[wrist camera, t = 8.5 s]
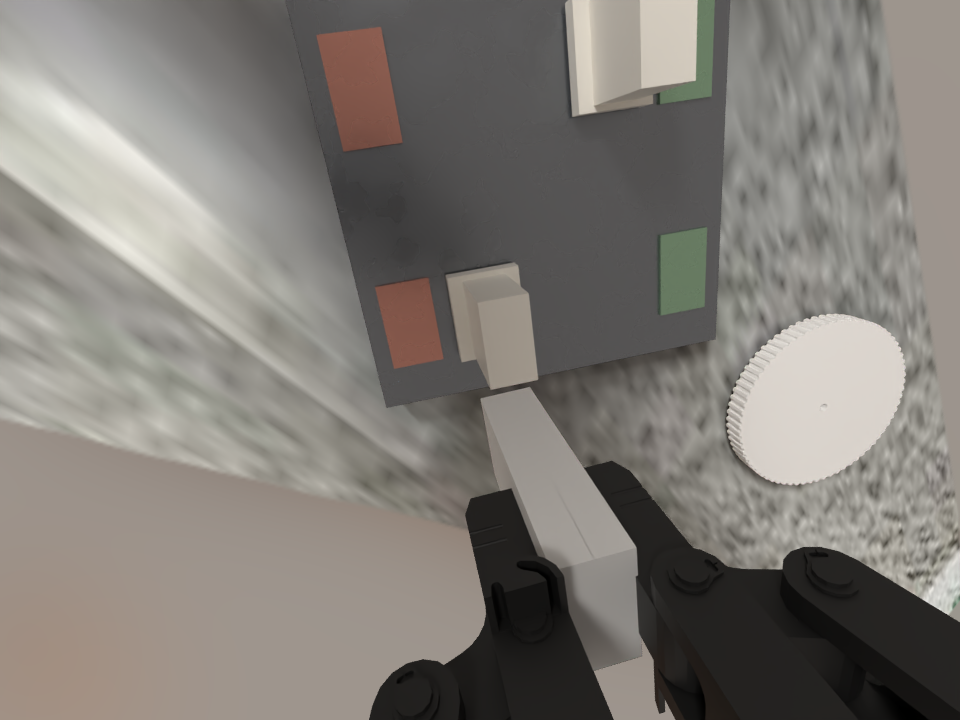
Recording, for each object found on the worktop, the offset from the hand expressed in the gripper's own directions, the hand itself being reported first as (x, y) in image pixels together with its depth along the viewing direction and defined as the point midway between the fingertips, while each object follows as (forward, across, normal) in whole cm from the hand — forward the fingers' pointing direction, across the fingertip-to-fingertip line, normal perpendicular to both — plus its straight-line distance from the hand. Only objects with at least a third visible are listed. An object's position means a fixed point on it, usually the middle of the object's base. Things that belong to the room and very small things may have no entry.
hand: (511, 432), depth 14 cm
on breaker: (+15, +10, +11) cm, 21 cm away
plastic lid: (+18, +26, -14) cm, 35 cm away
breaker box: (+18, +6, +5) cm, 20 cm away
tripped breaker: (+14, +2, -1) cm, 15 cm away
